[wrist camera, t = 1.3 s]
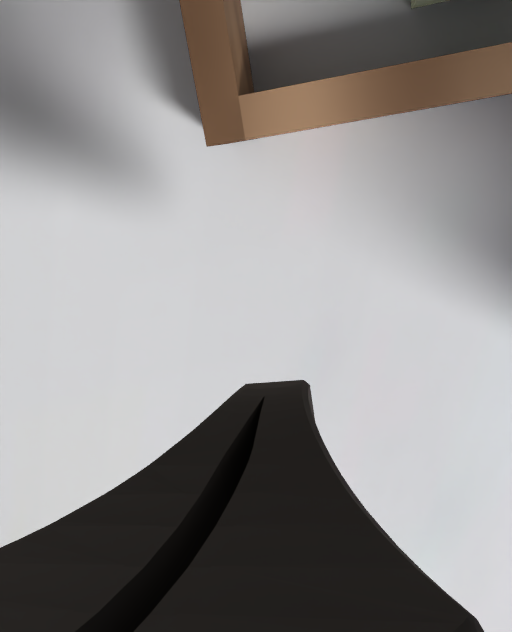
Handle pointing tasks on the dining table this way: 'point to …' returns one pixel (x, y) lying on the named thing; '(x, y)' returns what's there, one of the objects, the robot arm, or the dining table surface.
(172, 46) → the dining table surface
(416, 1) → the cube
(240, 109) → the frame
